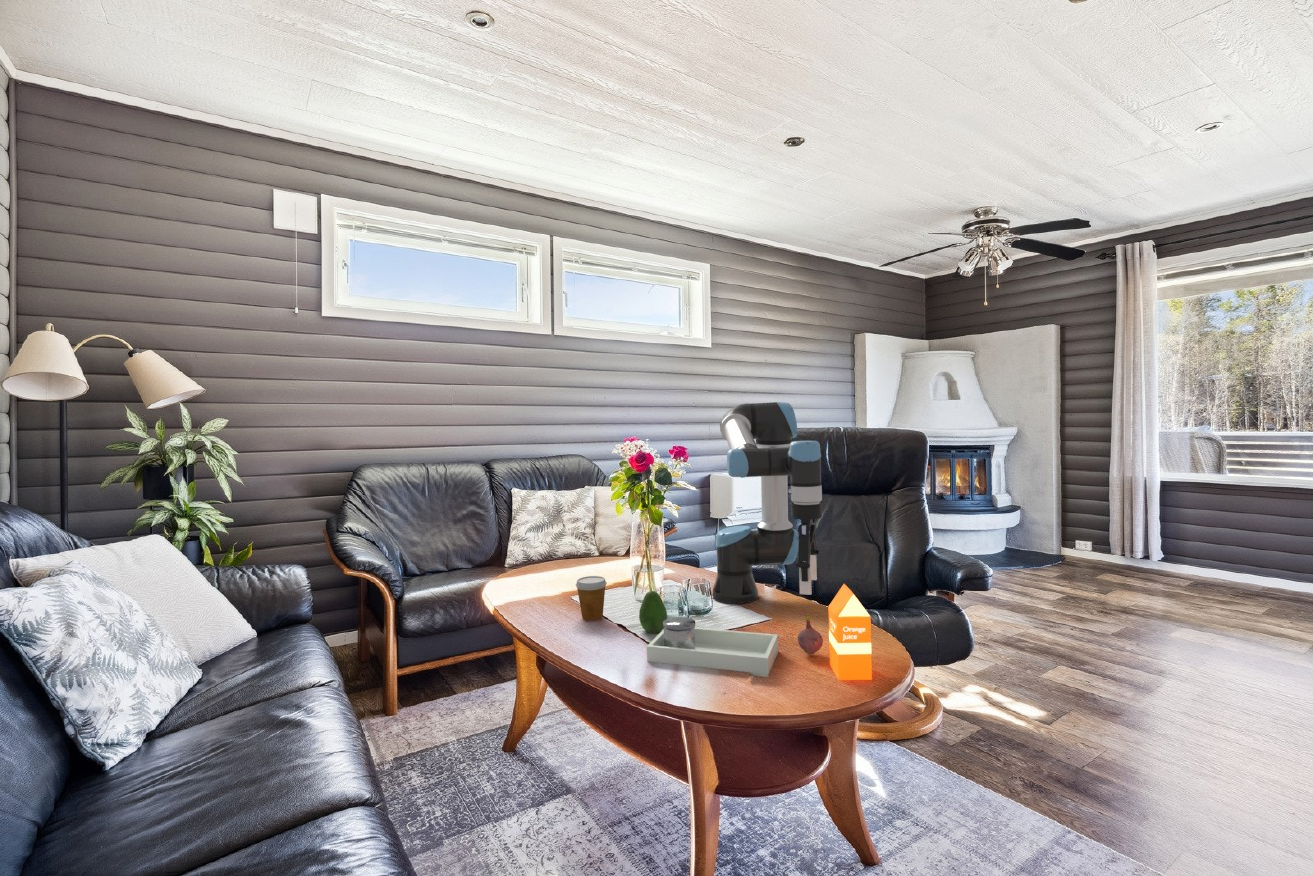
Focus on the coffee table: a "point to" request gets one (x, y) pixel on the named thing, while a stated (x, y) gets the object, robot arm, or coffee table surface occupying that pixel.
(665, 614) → the avocado
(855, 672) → the orange juice
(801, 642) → the vegetable
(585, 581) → the disposable coffee cup
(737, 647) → the grey tray
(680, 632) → the tin
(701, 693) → the coffee table surface
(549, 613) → the coffee table surface
